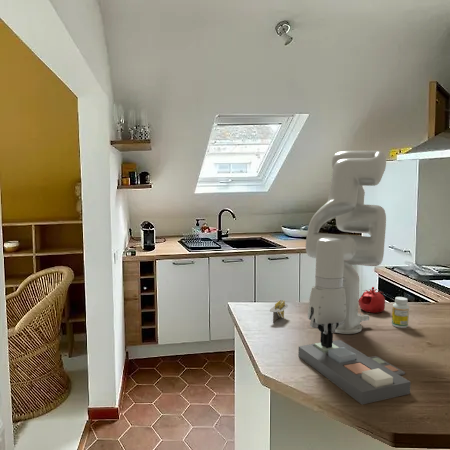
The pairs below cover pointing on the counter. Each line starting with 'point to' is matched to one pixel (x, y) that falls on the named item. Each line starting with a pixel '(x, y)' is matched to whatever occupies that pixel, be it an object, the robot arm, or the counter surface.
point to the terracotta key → (357, 368)
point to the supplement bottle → (400, 312)
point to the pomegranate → (372, 301)
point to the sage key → (324, 349)
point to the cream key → (377, 377)
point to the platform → (278, 310)
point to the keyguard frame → (350, 380)
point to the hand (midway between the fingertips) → (326, 345)
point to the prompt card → (388, 365)
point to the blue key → (341, 355)
